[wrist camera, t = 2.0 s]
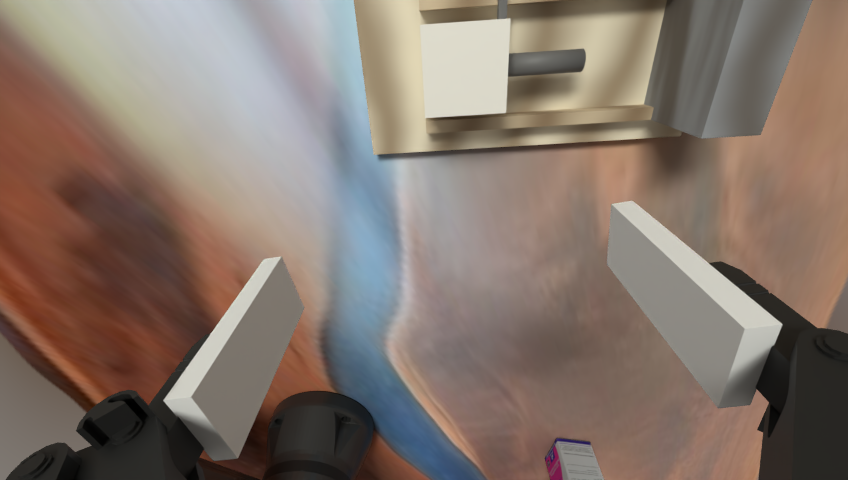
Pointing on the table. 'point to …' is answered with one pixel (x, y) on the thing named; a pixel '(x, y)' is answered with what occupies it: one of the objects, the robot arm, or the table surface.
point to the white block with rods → (480, 65)
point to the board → (587, 70)
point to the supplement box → (572, 461)
